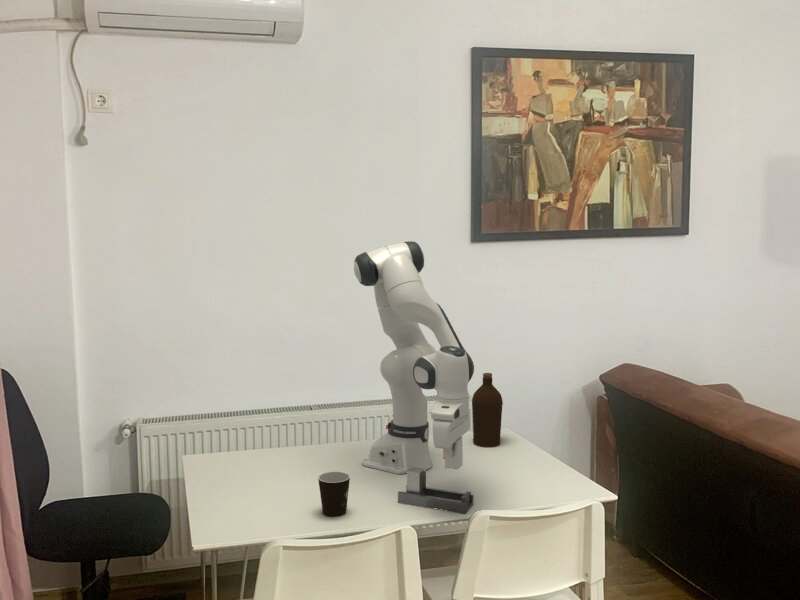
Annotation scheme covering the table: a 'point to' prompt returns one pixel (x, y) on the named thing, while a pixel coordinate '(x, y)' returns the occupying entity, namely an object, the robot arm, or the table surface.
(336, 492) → the coffee mug
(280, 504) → the table surface
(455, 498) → the rail
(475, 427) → the olive oil
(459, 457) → the finger
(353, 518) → the table surface
